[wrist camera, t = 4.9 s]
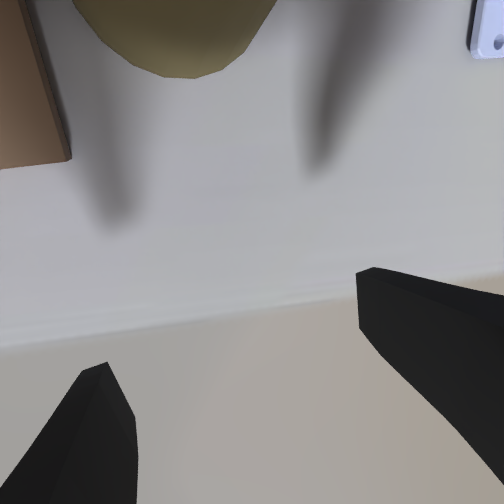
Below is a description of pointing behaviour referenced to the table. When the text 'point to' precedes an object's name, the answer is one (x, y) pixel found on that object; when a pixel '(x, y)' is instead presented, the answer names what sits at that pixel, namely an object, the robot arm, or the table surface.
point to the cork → (176, 32)
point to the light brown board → (26, 96)
